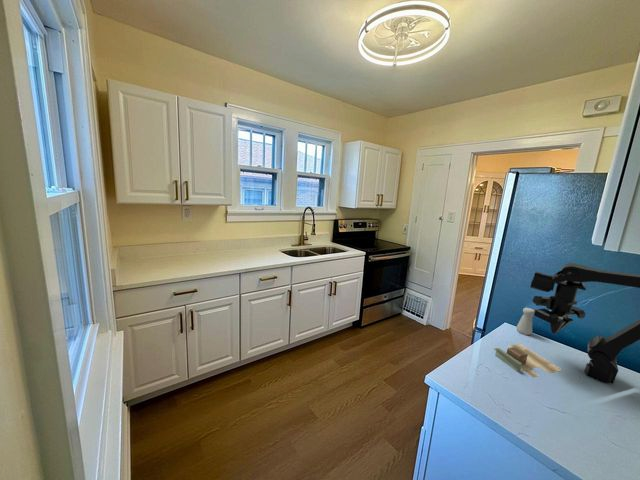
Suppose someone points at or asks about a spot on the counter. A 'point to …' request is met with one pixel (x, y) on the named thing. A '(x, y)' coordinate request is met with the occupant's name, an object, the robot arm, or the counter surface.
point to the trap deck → (531, 361)
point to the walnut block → (518, 354)
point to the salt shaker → (526, 322)
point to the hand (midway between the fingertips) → (553, 333)
